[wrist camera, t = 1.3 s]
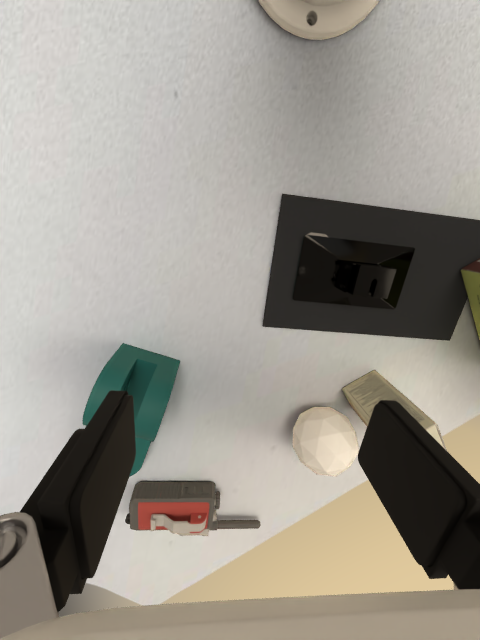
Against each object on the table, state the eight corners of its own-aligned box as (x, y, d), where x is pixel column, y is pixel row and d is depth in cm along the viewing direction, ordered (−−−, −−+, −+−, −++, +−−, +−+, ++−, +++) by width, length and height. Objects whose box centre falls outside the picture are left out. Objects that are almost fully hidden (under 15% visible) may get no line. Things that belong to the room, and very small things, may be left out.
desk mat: (282, 194, 26) (282, 193, 26) (496, 222, 29) (498, 222, 28) (262, 325, 31) (262, 326, 30) (447, 339, 33) (449, 340, 33)
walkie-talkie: (129, 521, 40) (258, 519, 42) (119, 555, 36) (262, 552, 38) (127, 478, 37) (265, 479, 39) (115, 511, 33) (271, 510, 35)
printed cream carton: (353, 409, 36) (401, 476, 27) (340, 387, 34) (386, 449, 25) (387, 391, 35) (449, 452, 26) (376, 368, 34) (437, 423, 24)
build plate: (291, 299, 30) (303, 312, 25) (303, 231, 27) (319, 232, 23) (393, 308, 31) (422, 322, 26) (414, 244, 28) (449, 248, 24)
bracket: (122, 343, 30) (91, 382, 23) (180, 360, 31) (168, 402, 24) (89, 457, 35) (56, 519, 28) (140, 468, 37) (120, 530, 29)
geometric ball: (293, 408, 38) (270, 434, 32) (343, 389, 34) (330, 414, 28) (319, 457, 37) (302, 496, 30) (374, 444, 33) (368, 485, 26)
